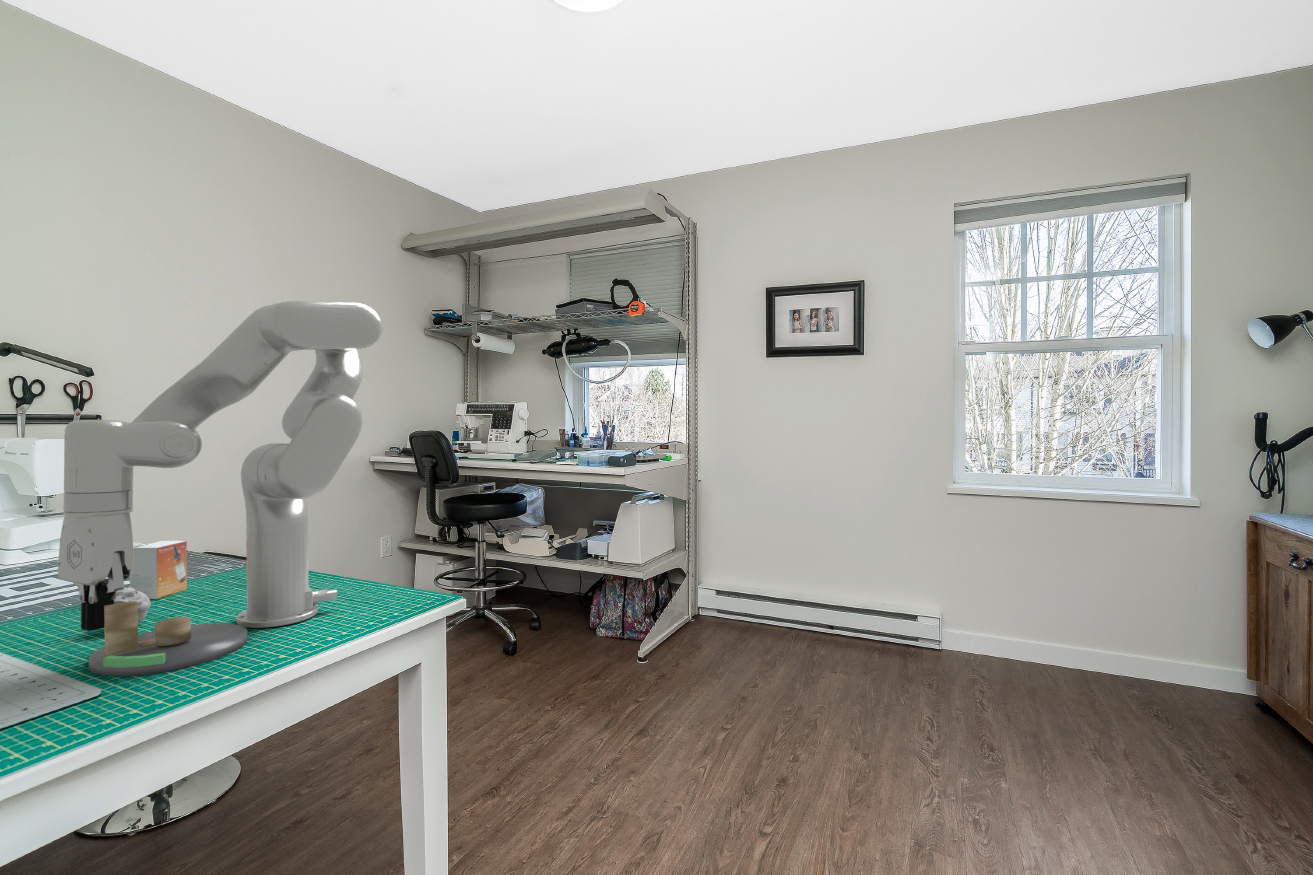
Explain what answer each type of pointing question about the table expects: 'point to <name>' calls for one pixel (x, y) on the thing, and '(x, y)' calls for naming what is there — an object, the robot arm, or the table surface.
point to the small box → (160, 568)
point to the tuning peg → (125, 629)
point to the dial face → (171, 652)
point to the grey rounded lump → (134, 595)
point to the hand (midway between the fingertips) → (97, 627)
